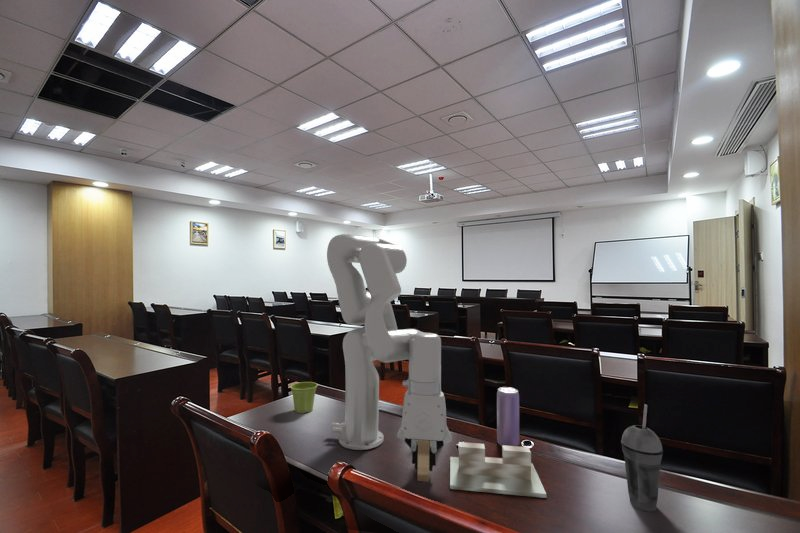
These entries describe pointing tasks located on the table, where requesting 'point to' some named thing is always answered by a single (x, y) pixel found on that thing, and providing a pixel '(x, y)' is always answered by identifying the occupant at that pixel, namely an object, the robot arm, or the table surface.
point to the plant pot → (303, 396)
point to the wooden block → (423, 460)
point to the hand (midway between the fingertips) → (424, 466)
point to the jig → (495, 471)
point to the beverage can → (507, 416)
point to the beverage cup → (642, 464)
